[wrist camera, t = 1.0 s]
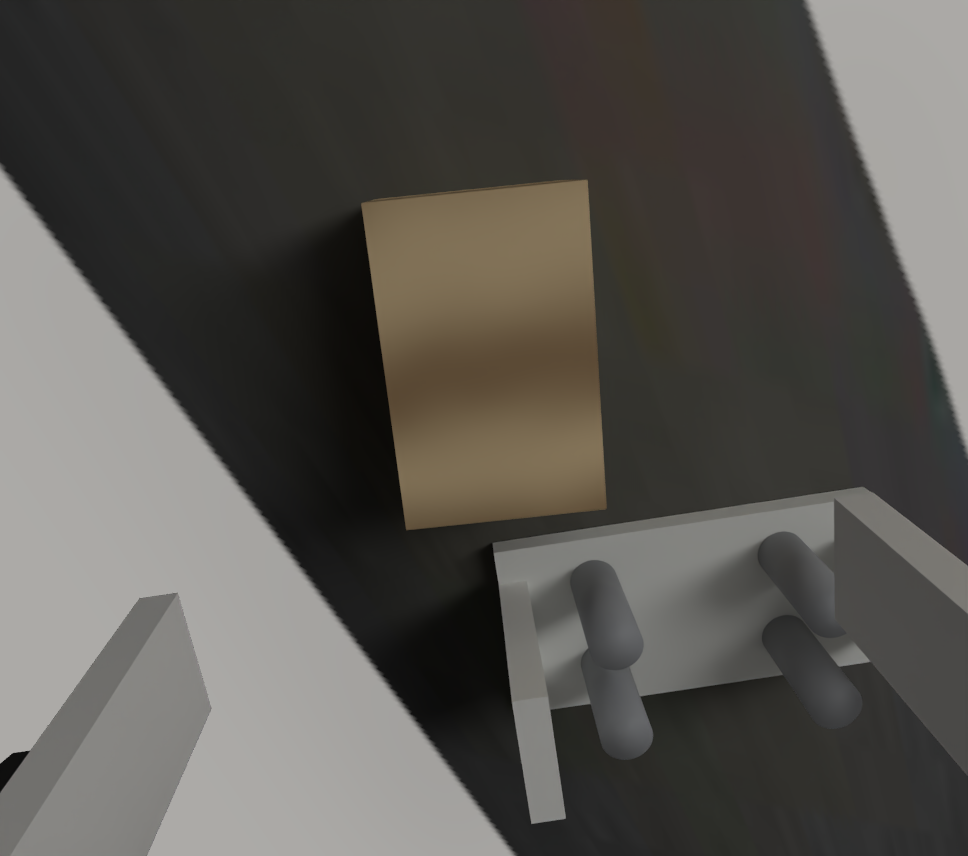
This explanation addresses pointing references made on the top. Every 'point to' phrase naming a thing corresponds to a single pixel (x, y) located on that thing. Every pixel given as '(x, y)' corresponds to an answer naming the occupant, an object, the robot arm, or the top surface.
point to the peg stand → (669, 622)
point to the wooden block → (489, 351)
